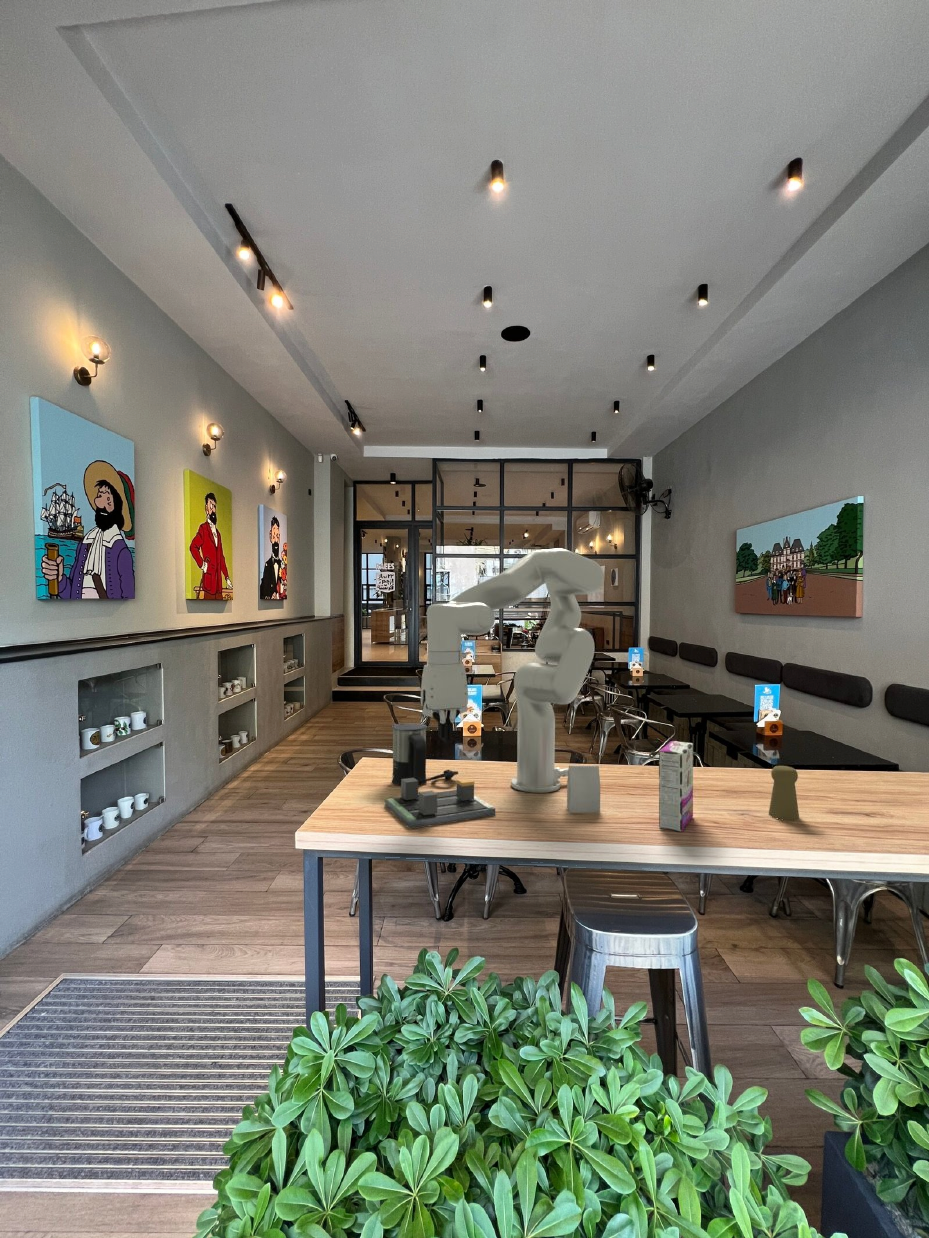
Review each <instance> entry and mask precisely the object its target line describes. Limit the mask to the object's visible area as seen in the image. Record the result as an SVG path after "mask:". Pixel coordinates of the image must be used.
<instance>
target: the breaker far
mask: <svg viewBox="0 0 929 1238" xmlns="http://www.w3.org/2000/svg"><path fill="white" fill-rule="evenodd" d="M400 793H401V794H400V797H402V798H404V799H405V800H411V799H418V795H419V786H418V781H417V780H416V779H415V778H407V779H401V786H400Z"/></svg>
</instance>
